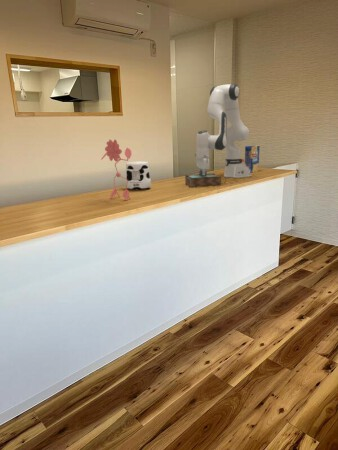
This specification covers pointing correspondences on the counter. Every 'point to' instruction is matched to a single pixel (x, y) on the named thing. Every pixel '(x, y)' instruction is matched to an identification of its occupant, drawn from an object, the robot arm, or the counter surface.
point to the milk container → (138, 175)
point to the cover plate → (201, 175)
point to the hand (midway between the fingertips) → (202, 174)
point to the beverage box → (252, 158)
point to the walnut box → (203, 181)
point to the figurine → (114, 153)
